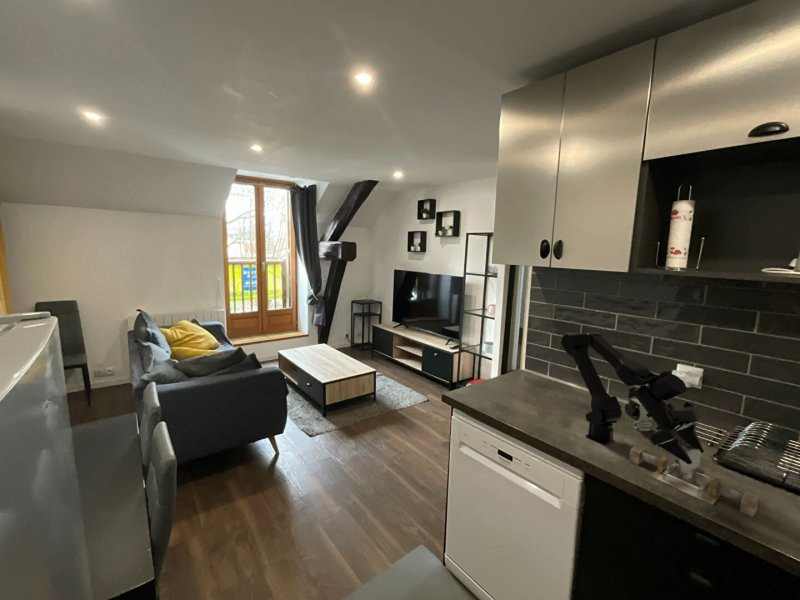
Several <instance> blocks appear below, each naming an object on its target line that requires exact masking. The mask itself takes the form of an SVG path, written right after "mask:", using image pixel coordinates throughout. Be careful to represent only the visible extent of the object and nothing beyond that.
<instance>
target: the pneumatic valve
mask: <svg viewBox="0 0 800 600" xmlns="http://www.w3.org/2000/svg"><path fill="white" fill-rule="evenodd" d="M624 411H625V414H626V415H627V416H628V417H630V418H632V419H633V420H634V421H633V422H632V423H633V428H635V429H636V430H638V431H639V432H651V428H652V422H650V421H654V420H653V419H652V417H649V418H648V417H647V416H646V414H648V412H647V411H646V410H645V408H644V407H643V406H642V404H641V403H640V402H639V400H638V399H637V398H628V401H627V403H625V405H624Z"/></svg>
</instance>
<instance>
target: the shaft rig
mask: <svg viewBox="0 0 800 600" xmlns="http://www.w3.org/2000/svg"><path fill="white" fill-rule="evenodd" d="M629 450H630V451H629V459H628V460H629V463H631V464H634V465H637V466H639V465H640V464H641V463H642V462H646V463H648V464H651V465H653V466H656V467H657V470H655V472H653V473H652V474H651V475H650V478H653V479H655V480H657V481H659V482H661V483H663V484H665V485H667V486H669V487H672V488H674V489H676V490H678V491H681V492H683V493H685V494H687V495H689V496H691V497H693V498H695V499H698V500H700V501H702V502H704V503H706V504H708V505H710V506H714V504H715V503H716V502H717V500H718V499H719V498H720V497H721V496H724V497H725V498H727V499H730V500H733V501H735V502H737V503H739V504H740V508H739V512H740V513H742V514H745V515H746V516H749V517H751V518H754V516H755V515H756V513H757V510H758V506H759V501H760V496H759V495H757V494H754V493H752V492H749V491H745V493H742V492H740V491H738V490H736V489H732V488H730V487H728V486H726V485H723V484H721V483H722V479H721V478H718V477H716V476H715V477H714V478H713V477H710V476H708V475H706V474H701V473H699V472H698V478H697V485H696V486H694V485H692V484H690V483H687V482H685V481H683V480H681V479H678V478H677V472H678V464H677V463H675V462H674V463H673V464H671V465H668V463H669V457H667V456H666V455H663V456H662V457H660V458H659V457H657V456H655V455H653V454H649V453H647V452H645V451H646V450H645V448H644V447H641V446H639V445H634V446H633V447H632V448H631V449H629Z"/></svg>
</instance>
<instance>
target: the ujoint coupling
mask: <svg viewBox="0 0 800 600" xmlns="http://www.w3.org/2000/svg"><path fill="white" fill-rule="evenodd" d="M681 445H682V447H683V448H684V450H685V451H686V453H687V454H688V456H689V457H690V459H691V461H692V464H687V463H685V462H684V461H682V460H681V459H679V458H675V459H674V463H677V464H678V472H677V478H678V479H681V480H683V481H685V482H687V483H690V484H692V485H694V486H696V485H697V478H698V472H699V473H701V474H703V475H705V472H706V471H705V470H704V469H703V468H700V463H701V462H700V461H701V454H702V453H701V451H700V450H699V449H697V448H695V447H692V446H690V445H689V444H681Z"/></svg>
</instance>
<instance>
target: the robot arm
mask: <svg viewBox="0 0 800 600" xmlns="http://www.w3.org/2000/svg"><path fill="white" fill-rule="evenodd" d="M560 342H561V346H562V348H563V349H564V351H565V353H566V354H567V355H569V356H570V357H571V358H573V360H574V362H575V364H576V366H577V368H578V371H579V373H580V375H581V377H582V379H583V381H584V384H585V386H586V388H587V390H588V392H589V394H590V397H591V400H590V409H591V411H589V412H587V413H585V419H586V421H587V422H588V423H589V425H588V433H587V434H585V438H588V439H589V440H592V441H595V442H597V443H598V444H601V445H603V446H605V445H607V444H609V443H610V442H612V441H613V440H614V431H615V430H614V428H613V425H614V424H615V423H617V422H618V420H620V419H621V417H622V414H623V411H622V408H623V407H622V405H621V404H620V403H619V401H618V398H617V397H616V395H612V396H611V395H610V394H609V393H608V392H607V391H606V389H605V386H604V385H603V383H602V381H601V378H600V376H599V375H598V372H597V370H596V368H595V366H594V364H593V361H592V360H591V358H590V356H589V348H591V349H593V350H594V351H595V352H596V353H597V354H598V355H599V356H600V357H601V358H602V359H604V360H605V361H606V362H607V363H608V364H609V365H611V366H612V367H613V369H614V371H615V374H616V376H617V378H618V379H619V380H621V382H622V383H623V384H625V386H628V387H631V388H629V389H628V396H627V397H628V399H633V398H634V397H635V399H638V400H639V402H640V403H641V404H642V406H643V407H644V408H645V410H646V411H647V412H648V414H646V416H647V417H648V418H649V417H652V419H653V420H652V421H653V422H654V423H655V424H656V425H657V426H656V427H655V429H656V430H654V431H653V432H652V433H650V434H649V436H648V437H649V438H648V439H649V441H650V442H651V444H652V445H653V446H657V447H658V448H661V449H663V450H665V451H666V452H668V453H670V454H672V455H673V456H675V457H676V458H677V459H678V460H679V459H681V460H682V461H684V462H685V463H687V464H692V461H691V459H690V457H689V456H688V454H687V453H686V451H685V450H684V448H683V447H682V445H683V444H681V439H682V440H683V441H685V442H686V443H687V445H689V446H692V447H695V448H697V449H699V450H700V451H701V454H703V453H704V452H705V451H704V448H703V446H702V444H701V441H700V438H699V437H698V435H697V434H698V433H697V432H696V430H697V426H698V421H699V420H700V419H701V418H702V416H701V408H700V407H699V406H698V405H697V404H695V402H693V401H692V400H691V401H685V402H684V403H683V406H682V405H680V406H676V407H675V406H674V404H672V403H671V402H669V403H668V402H666V401H668V400H670V399H671V400H672V399H673V398H675V397H678V396H679V395H682V394H684V393H686V392H687V385H686V383H685V381H684V380H683V379H681V378H680V377H679V376H678V375H676V374H673V372H671V370H665V371H662V372H661V373H660V374H658V375H657V374H656V373H653V372H652V371H650V369H648V368H647V367H646V366H644V365H642V363H640V362H638V361H635V360H633V359H630V358H629V357H628V358H627V357H626V356H625V355H623V354H622V352H620V351H619V350H617V349H616V348H615V347H614V346H613V345H612V344H611V343H609V342H608V341H607V340H606V339H604V338H603V337H602V335H601V334H600V333H598V332H587V333H585V334H583V333H582V332H581V333H580V332H575V333H566V334H564V335H562V337H561V340H560ZM648 385H649V386H648ZM634 386H639V387H637V388H636V387H634Z"/></svg>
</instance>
